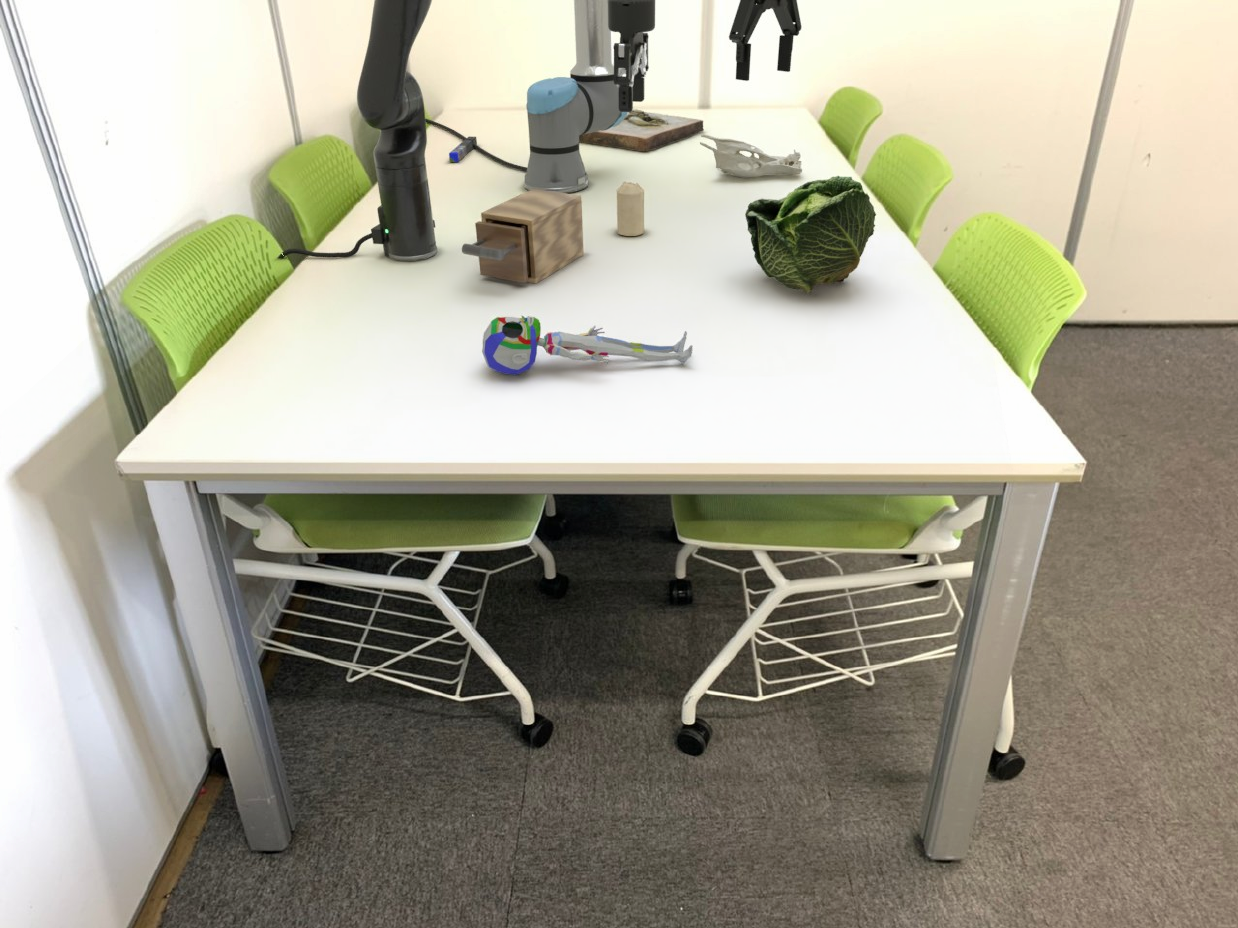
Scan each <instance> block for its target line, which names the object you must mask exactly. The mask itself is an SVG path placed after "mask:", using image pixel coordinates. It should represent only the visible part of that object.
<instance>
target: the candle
mask: <svg viewBox="0 0 1238 928" xmlns="http://www.w3.org/2000/svg"><path fill="white" fill-rule="evenodd" d="M616 228H617V234H618V235H621V236H624V237H625V236H626V237H636V236H641V235H642V234H644V233H645V189H644V188H643V187H642V186H641V185H640V184H639V182H636V183H633V182H629V181H623V182H622V183H621V185H620V186H618V188H617V189H616Z"/></svg>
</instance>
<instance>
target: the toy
mask: <svg viewBox="0 0 1238 928" xmlns="http://www.w3.org/2000/svg"><path fill="white" fill-rule="evenodd" d="M596 328H597V326H596V325H594V326H593V327H591V328H590V329H589V330H588V332H584V333H579V334H573V333H569V332H562V331H550V332H547V333H546V334H545V335H544V336H543V337H541V330H542V327H541V322H540V320H539V319H538V318H536V317H535V316H531V315H528V316H527V317H525V316H524V315H521V317H516V316H504V317H503V316H502V317H499V316H496V317H495V318H494V319H492V320H491V321H490V322H489V324H488V326H487V328H486V329H485V331H484V332H483V337H482V348H481V353H482V355H483V358H484V360H485V363H486V366H487V367H488V368H491V369H492V370H494V371H496V372H497V373H502V374H505V375H513V376H517V375H520V374H522V373H525V372H527V371H529V370H530V369H531V367H532V366H533V365H534V364H535V363H536V358H537V354H538V347H542V348H543V349H544V351H545V352H546V354H548V355H550V356H559V357H562V358H567V359H571V360H573V361H578V362H581V361H582V362H583V361H596V362H601V363H605V364H609V363H608V362H612V360H611V359H607V358H610V356H618V357H631V358H634V359H639V360H642V361H646V362H665V361H672V360H677V361H679V362H680V363H683V364H685V363H686V362H687V361H688V360H689V359H690V358H691V357H692V355H693V348H694V347H693V345H691V344H690V345H689V347H687V349H685V345H686V342H687V341H686V340H687V336H688V332H687V330H686V331H684V333H683V336H682V337H681V339H680V340H679V341H678V342H676V344H674V345H656V344H655V345H654V344H645V343H641V342H633V341H632V342H629V341H626V340H622V339H617V338H612V337H608V336H607V337H606V336H600V335H599V334H605V331H600V330H603V329H604V328H603V327H600V328H597V329H596ZM579 350H581V351H583V352H585V353H583V352H577V351H579Z"/></svg>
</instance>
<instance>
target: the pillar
mask: <svg viewBox="0 0 1238 928" xmlns="http://www.w3.org/2000/svg"><path fill="white" fill-rule="evenodd" d="M473 144H476V145H477V146H478V140H477V136H468V137H466V139H465V140H462V141H461V143H459V144H458V145H457V146H456V147H454V149H452V150H451V151H450V152H448V160H449V163H458V162H460V161H461V160H462V159H463V158H464V157H466V155H468V153H470V152H471V151H472V150H473V149H475V148H474V147H473Z"/></svg>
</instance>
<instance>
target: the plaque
mask: <svg viewBox="0 0 1238 928" xmlns="http://www.w3.org/2000/svg"><path fill="white" fill-rule="evenodd" d="M704 130H705V129H704V120H702V119H698V118H693V117H685V116H679V115H669V114H663V113H659V112H650V111H644V110H642V109H637V108H636V109H635V108H633V110H632V111H631V112H628V113H627V115H626V117H625V118H624V120H623V121H622V122H621V123H620V124H619V125H617V126H615V127H612V128H610V129H608V130H604V131H601V130H600V131H596V132H592V133H587V134H583V135H579V143H580V142H581V143H586V144H593V145H597V146H598V145H599V146H607V147H612V148H620V149H625V150H632V151H640V152H648V151H654V150H656V149H659V148H662V147H663V146H664V147H665V146H667V145H670V144H672V143H676V142H680V141H682V140H684V139H687V138H691V137H692V136H694V135H696V134H698V133H700V132H704Z"/></svg>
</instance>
